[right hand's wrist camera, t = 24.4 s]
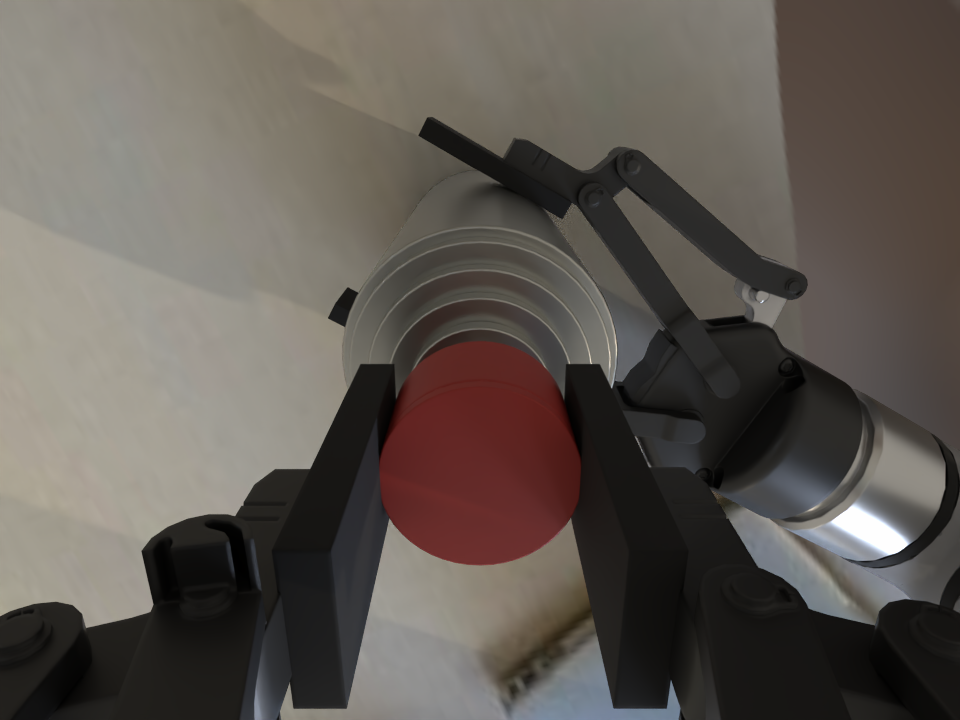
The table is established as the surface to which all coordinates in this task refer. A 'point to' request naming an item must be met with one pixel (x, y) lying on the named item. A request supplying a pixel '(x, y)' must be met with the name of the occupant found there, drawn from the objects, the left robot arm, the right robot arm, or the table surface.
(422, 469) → the cap
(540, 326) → the bottle
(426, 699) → the table surface
